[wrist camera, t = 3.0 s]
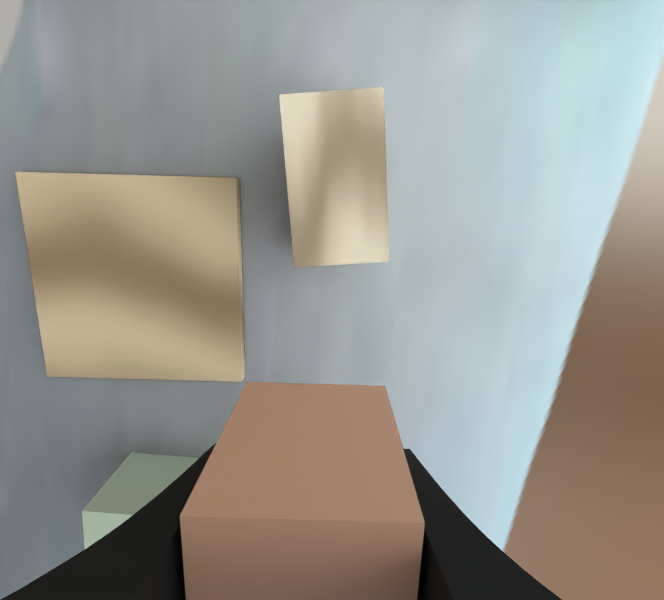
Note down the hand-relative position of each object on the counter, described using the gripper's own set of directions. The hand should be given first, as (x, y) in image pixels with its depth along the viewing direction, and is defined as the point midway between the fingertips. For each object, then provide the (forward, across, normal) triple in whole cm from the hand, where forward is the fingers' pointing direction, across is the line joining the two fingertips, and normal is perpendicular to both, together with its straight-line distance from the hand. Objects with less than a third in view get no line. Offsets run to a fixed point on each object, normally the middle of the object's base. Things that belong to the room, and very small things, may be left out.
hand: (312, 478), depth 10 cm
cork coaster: (+8, +8, -4) cm, 12 cm away
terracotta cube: (+1, 0, 0) cm, 1 cm away
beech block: (+6, +1, -8) cm, 10 cm away
